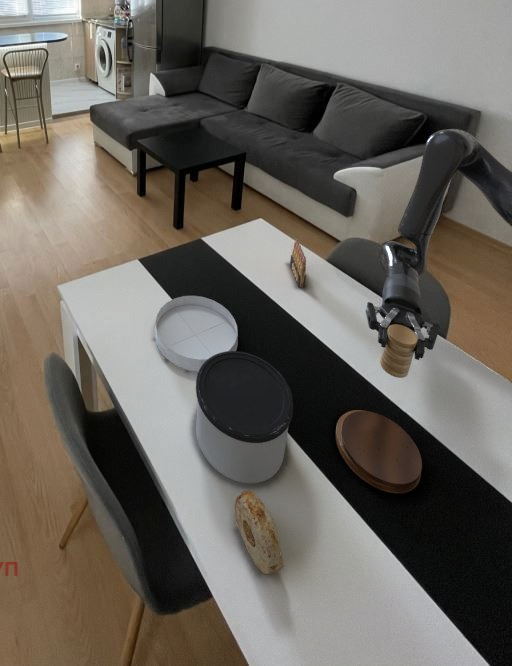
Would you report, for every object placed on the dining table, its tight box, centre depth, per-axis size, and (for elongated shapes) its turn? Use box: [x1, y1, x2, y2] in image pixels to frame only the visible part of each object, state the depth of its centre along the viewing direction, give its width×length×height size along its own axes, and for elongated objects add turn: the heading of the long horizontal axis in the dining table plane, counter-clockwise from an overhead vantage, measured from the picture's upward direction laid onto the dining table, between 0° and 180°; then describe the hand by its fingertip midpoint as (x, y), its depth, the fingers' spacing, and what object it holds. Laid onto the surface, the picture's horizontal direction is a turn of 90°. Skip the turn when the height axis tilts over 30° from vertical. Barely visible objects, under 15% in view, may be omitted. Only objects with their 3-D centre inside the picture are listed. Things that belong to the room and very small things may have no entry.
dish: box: [154, 295, 239, 373], centre depth 116 cm, size 22×22×5 cm
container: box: [195, 350, 294, 484], centre depth 89 cm, size 19×19×15 cm
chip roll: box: [379, 324, 418, 379], centre depth 91 cm, size 5×5×10 cm
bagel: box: [233, 489, 285, 575], centre depth 73 cm, size 10×4×10 cm, turn 19°
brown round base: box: [335, 409, 423, 495], centre depth 87 cm, size 15×15×4 cm
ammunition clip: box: [289, 238, 307, 289], centre depth 134 cm, size 11×2×12 cm, turn 172°
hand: (400, 350), depth 88 cm, fingers closed on chip roll, 5 cm apart
